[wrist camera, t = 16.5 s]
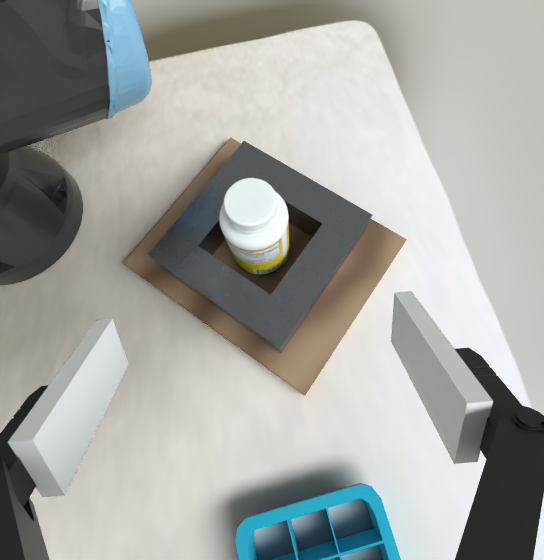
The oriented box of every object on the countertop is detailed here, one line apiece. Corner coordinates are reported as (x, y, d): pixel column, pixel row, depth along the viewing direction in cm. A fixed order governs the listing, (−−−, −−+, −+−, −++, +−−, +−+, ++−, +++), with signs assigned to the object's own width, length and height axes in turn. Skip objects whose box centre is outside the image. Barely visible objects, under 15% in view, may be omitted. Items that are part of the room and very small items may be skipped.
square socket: (162, 269, 36) (147, 254, 32) (248, 165, 39) (243, 140, 35) (281, 353, 33) (280, 348, 29) (363, 233, 36) (372, 214, 32)
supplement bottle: (255, 217, 37) (242, 155, 28) (300, 245, 36) (303, 190, 26) (222, 259, 36) (197, 209, 26) (267, 289, 35) (258, 249, 25)
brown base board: (127, 266, 38) (122, 262, 37) (231, 143, 41) (230, 137, 40) (304, 395, 33) (305, 395, 32) (403, 243, 37) (406, 239, 36)
